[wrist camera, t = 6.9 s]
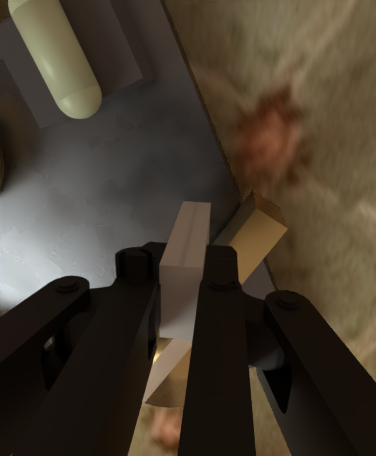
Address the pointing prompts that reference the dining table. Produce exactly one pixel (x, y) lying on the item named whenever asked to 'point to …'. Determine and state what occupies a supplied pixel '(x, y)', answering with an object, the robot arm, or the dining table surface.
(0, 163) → the knob
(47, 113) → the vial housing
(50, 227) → the levelling plate
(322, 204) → the dining table surface
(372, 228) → the dining table surface
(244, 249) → the knob
